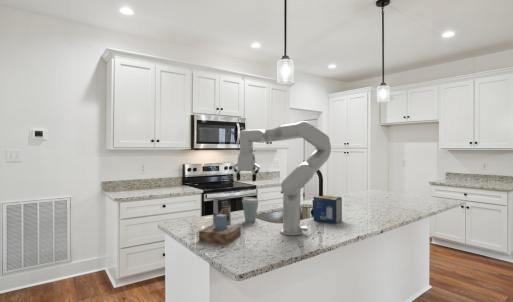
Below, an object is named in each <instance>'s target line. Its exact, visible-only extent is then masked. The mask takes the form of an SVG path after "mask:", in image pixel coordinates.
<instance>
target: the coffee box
mask: <svg viewBox="0 0 513 302" xmlns="http://www.w3.org/2000/svg"><path fill="white" fill-rule="evenodd" d="M231 199H232V198H230V197H229V198H228V197H220V198H219V197H217V198H213V201H212V202H213V204H212V205H213V207H212V208H213V211H212V212H213V214H212V215H213V216H212V225H213V224H215V216H216V215H218V214H223V215H227V225H232V224H231V218H232V217H231V216H232V215H231V210H232V209H231V207H232V206H231V204H232V203H231V202H232V201H231Z"/></svg>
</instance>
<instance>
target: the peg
mask: <svg viewBox="0 0 513 302" xmlns="http://www.w3.org/2000/svg"><path fill="white" fill-rule="evenodd" d="M226 229H227V215H223V214H218V215H216V216H215V230H219V231H224V230H226Z"/></svg>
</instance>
